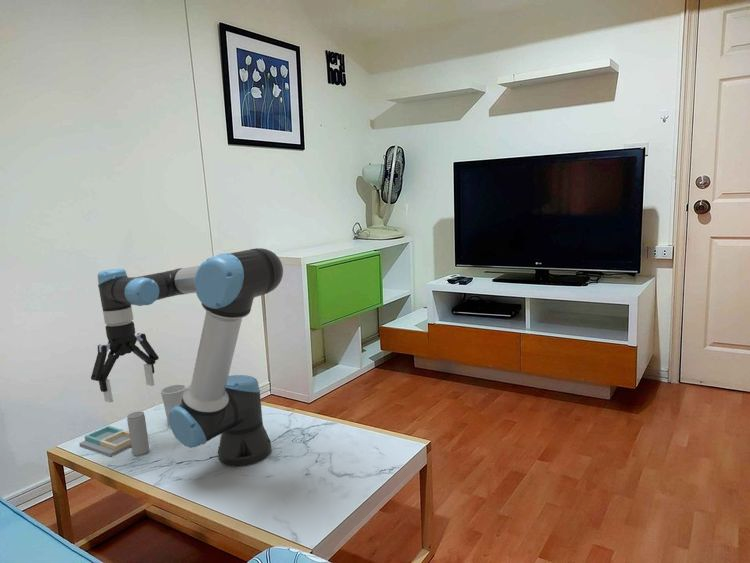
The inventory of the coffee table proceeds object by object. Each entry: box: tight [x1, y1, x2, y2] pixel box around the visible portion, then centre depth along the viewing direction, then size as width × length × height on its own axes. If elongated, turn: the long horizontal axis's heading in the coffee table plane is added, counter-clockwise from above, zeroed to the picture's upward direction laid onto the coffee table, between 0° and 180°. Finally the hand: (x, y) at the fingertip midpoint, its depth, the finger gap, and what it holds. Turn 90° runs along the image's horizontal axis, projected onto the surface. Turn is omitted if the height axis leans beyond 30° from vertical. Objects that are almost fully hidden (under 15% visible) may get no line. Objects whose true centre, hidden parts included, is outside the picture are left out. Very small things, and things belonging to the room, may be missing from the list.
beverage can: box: [126, 411, 150, 456], centre depth 160 cm, size 5×5×12 cm
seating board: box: [78, 425, 132, 458], centre depth 168 cm, size 16×12×2 cm
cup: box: [160, 383, 187, 427], centre depth 180 cm, size 8×8×12 cm
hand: (130, 393), depth 158 cm, fingers open, 13 cm apart
